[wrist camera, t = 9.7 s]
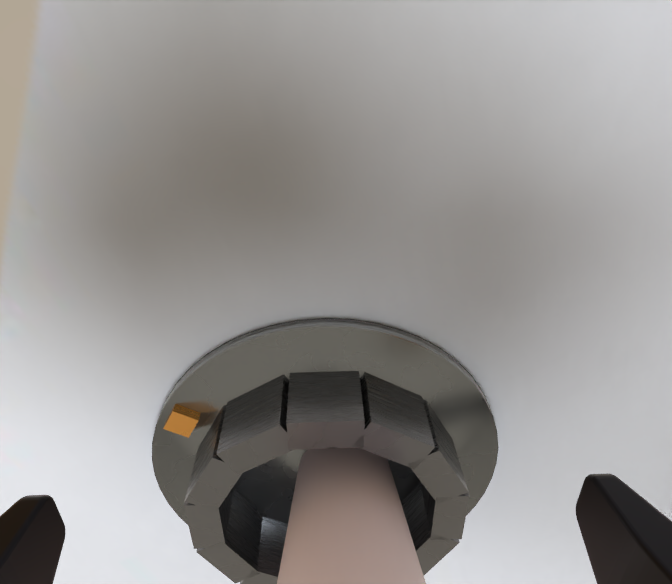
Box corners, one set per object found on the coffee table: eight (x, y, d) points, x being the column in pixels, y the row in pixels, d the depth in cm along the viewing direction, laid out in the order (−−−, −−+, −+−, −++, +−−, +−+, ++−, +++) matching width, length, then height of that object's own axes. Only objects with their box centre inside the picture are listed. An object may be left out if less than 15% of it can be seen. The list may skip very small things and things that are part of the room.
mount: (564, 405, 21) (601, 466, 18) (379, 585, 27) (386, 651, 24) (242, 255, 17) (229, 306, 14) (110, 505, 23) (84, 573, 21)
